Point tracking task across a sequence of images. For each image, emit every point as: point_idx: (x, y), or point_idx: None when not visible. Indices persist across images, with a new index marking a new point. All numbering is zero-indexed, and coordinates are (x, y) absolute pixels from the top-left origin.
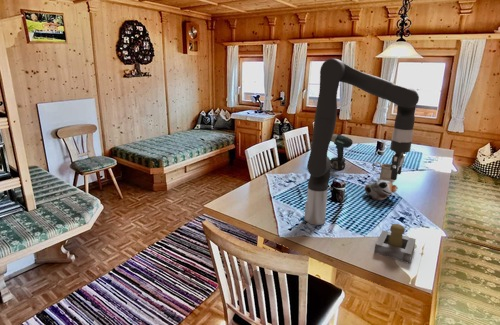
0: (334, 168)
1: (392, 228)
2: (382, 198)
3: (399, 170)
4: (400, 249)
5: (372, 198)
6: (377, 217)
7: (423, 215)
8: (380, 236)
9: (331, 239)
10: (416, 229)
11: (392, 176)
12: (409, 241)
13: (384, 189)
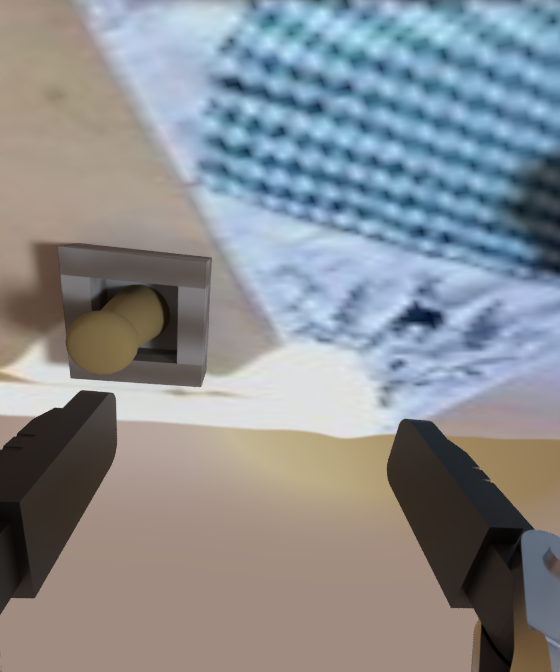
0: None
1: (72, 324)
2: None
3: (415, 506)
4: None
5: None
6: (405, 220)
7: (482, 389)
8: (141, 259)
9: (65, 19)
10: (350, 372)
11: (22, 446)
12: (167, 368)
13: None
